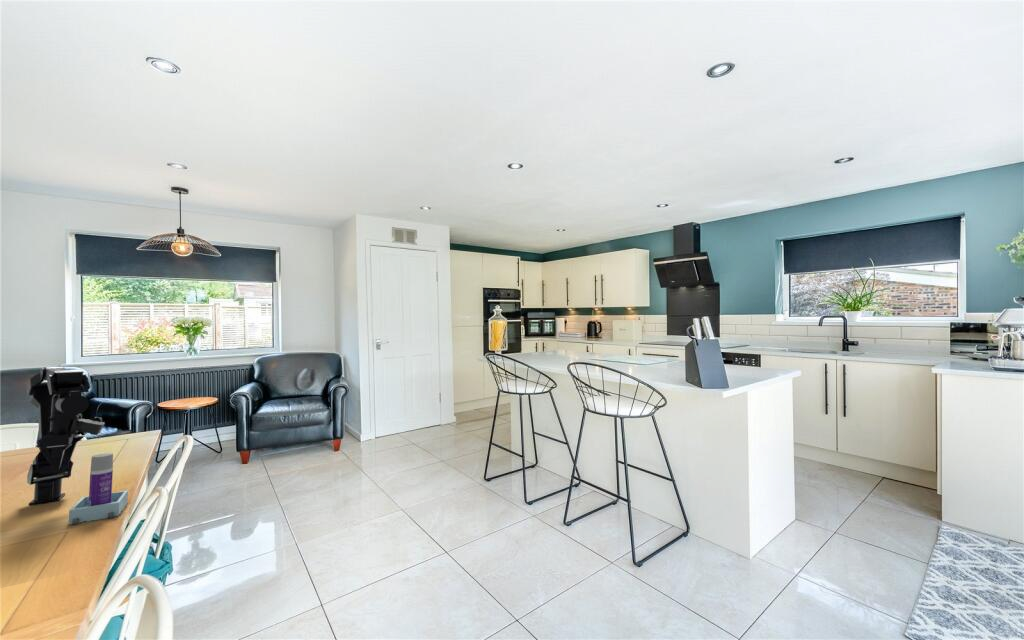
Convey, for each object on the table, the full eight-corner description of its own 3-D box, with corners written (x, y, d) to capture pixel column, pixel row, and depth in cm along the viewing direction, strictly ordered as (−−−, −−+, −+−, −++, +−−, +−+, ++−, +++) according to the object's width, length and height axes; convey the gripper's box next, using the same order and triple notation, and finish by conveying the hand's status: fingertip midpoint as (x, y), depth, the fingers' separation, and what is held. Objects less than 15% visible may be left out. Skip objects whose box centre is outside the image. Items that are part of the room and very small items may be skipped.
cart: (83, 508, 123) (83, 495, 123) (128, 501, 129) (128, 489, 129) (66, 526, 111) (67, 512, 111) (117, 517, 116) (118, 503, 117)
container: (101, 510, 118) (104, 456, 119) (83, 511, 117) (86, 457, 118) (115, 504, 122) (117, 452, 123) (97, 504, 122) (100, 453, 123)
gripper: (94, 413, 121) (91, 468, 120) (109, 406, 136) (107, 454, 135) (38, 417, 114) (34, 475, 113) (61, 409, 130) (58, 460, 129)
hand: (62, 465), depth 123 cm, fingers open, 9 cm apart
